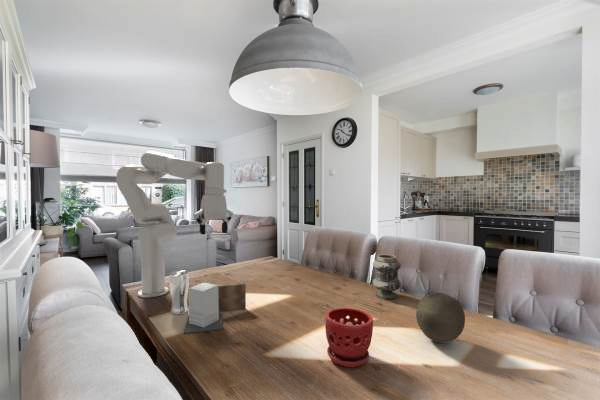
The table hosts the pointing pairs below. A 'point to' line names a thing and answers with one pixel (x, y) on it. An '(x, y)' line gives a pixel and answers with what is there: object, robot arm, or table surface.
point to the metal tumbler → (179, 291)
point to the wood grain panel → (232, 297)
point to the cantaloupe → (440, 317)
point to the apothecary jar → (386, 276)
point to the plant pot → (348, 336)
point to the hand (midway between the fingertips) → (213, 233)
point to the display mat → (214, 326)
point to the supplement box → (203, 304)
